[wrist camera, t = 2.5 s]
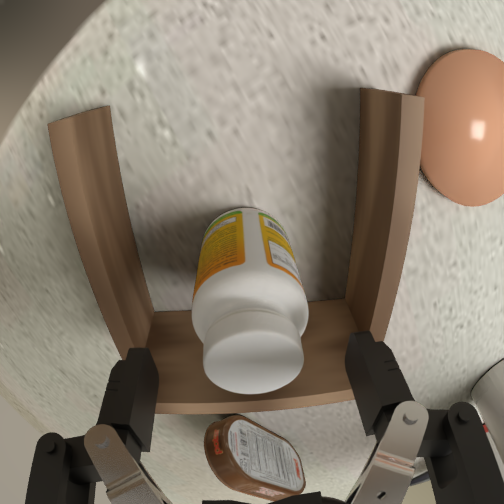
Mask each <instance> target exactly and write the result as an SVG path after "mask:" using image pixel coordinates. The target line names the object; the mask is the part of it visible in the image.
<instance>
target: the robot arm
mask: <svg viewBox="0 0 504 504" xmlns="http://www.w3.org/2000/svg"><path fill="white" fill-rule="evenodd" d="M345 369H346V373H347V376H348V379H349V382H350V385H351V388H352V391H353V394H354V397H355V400H356V404H357V407H358V410H359V413H360V416H361V420H362V423H363V426H364V430H365V433H366V436H369V435H373V434H375V436H376V439H377V441H376V443H375V445H374V448H373V450H372V452H371V454H370V456H369V458H368V460H367V462H366V464H365V466H364V468H363V470H362V472H361V474H360V476H359V478H358V480H357V481H356V483H355V485H354V486H353V488H352V490H351V491H350V493H349V495H348V496H347V498H346V500H345V502H344V501H341V500H339V499H335V498H331V497H322V496H321V492H320V491H319V492H313V493H307V494H300V495H293V496H289V497H286V498H283V499H281V500H278V501H275V502H271V503H268V504H401V503H402V501H403V499H404V497H405V494H406V492H407V490H408V487H409V485H410V482H411V480H412V477H413V475H414V471H415V467H414V462H415V459H416V457H424V459H425V462H426V466H427V469H428V473H429V477H430V480H431V484H432V488H433V492H434V496H435V500H436V504H504V481H503V478H502V475H501V472H500V469H499V466H498V463H497V460H496V458H495V455H494V452H493V450H492V447H491V444H490V442H489V439H488V437H487V434H486V432H485V429H484V427H483V424H482V422H481V420H480V417H479V415H478V413H477V411H476V409H475V408H474V407H473V406H472V405H471V404H469V403H466V402H458V403H455V404H454V405H452V406H451V408H450V409H449V410H430V409H426V408H425V407H424V406H423V405H422V404H420V403H418V402H416V401H415V400H414V398H413V397H412V394H411V392H410V390H409V387H408V385H407V383H406V381H405V379H404V376H403V374H402V372H401V370H400V369H399V365H398V363H397V361H396V359H395V357H394V355H393V353H392V350H391V349H390V348H389V347H388V346H387V345H386V344H385V343H384V342H383V341H378V342H375V340H374V338H373V336H372V334H371V332H370V331H369V330H366V331H360V332H353V333H351V334H350V336H349V341H348V346H347V350H346V354H345ZM108 381H109V383H108V384H107V387H106V391H105V395H104V398H103V402H102V406H101V410H100V414H99V418H98V421H97V424H96V426H93V427H92V428H90V429H89V430H88V431H87V433H86V434H85V435H83V436H79V437H73V438H67V439H63V438H62V437H61V436H60V435H59V434H57V433H47V434H45V435H43V436H42V437H41V438H40V439H39V440H38V442H37V445H36V450H35V454H34V458H33V463H32V467H31V472H30V477H29V482H28V488H27V494H26V500H25V504H94V498H95V488H96V487H95V486H96V482H99V481H103V482H104V484H105V486H106V488H107V491H106V493H107V496H108V498H109V500H110V502H111V503H112V504H172V502H171V501H170V500H169V499H168V498H167V497H166V496H165V494H164V493H163V492H162V490H161V489H160V488H159V486H158V485H157V484H156V482H155V481H154V480H153V478H152V477H151V475H150V474H149V472H148V471H147V470H146V468H145V467H144V465H143V464H142V462H141V461H140V457H141V452H150V446H151V438H152V430H153V423H154V415H155V408H156V402H157V395H158V388H159V373H158V370H157V367H156V365H155V362H154V360H153V357H152V355H151V352H150V350H149V348H147V347H146V348H129V350H128V353H127V357H126V360H119V361H118V362H117V363H116V365H115V366H114V367H113V368H112V370H111V373H110V377H109V380H108ZM471 397H472V399H473V401H474V403H475V405H476V407H477V408H478V410H479V412H480V414H481V417H482V419H483V421H484V423H485V425H486V427H487V429H488V431H489V433H490V435H491V438H492V440H493V442H494V444H495V446H496V448H497V451H498V453H499V455H500V458H501V460H502V462H503V465H504V360H502V361H501V362H499V363H498V364H497V365H495V366H494V367H493V368H492V369H490V370H489V371H488V372H487V373H486V374H485V375H484V376H483V377H482V378H481V379H480V380H479V381H478V382H477V384H476V385H475V386H474V388H473V390H472V392H471ZM202 504H249V503H243V502H238V501H232V500H217V501H209V500H202Z"/></svg>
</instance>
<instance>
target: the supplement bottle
mask: <svg viewBox="0 0 504 504" xmlns="http://www.w3.org/2000/svg"><path fill="white" fill-rule="evenodd" d="M192 322H193V326H194V329H195V332H196V334H197V335H198V337H199V339H200V340H201V341H202V343H203V344H204V346H203V367H204V371H205V373H206V375H207V377H208V378H209V379H210V380H211V381H212V382H213V383H214V384H216V385H217V386H219V387H221V388H223V389H225V390H228V391H231V392H235V393H241V394H260V393H266V392H270V391H273V390H276V389H279V388H281V387H283V386H285V385H287V384H288V383H290V382H291V381H292V380H294V379H295V378H296V377H297V376H298V374H299V373H300V371H301V369H302V367H303V363H304V355H303V349H302V343H301V336H302V334H303V333H304V331H305V328H306V326H307V322H308V304H307V299H306V295H305V292H304V289H303V286H302V282H301V279H300V276H299V272H298V269H297V266H296V262H295V259H294V256H293V253H292V249H291V246H290V243H289V240H288V237H287V235H286V232H285V230H284V228H283V227H282V225H281V224H280V223H279V222H278V221H277V220H276V219H275V218H274V217H273V216H271V215H270V214H268V213H266V212H264V211H262V210H258V209H254V208H239V209H234V210H231V211H228V212H226V213H224V214H222V215H220V216H219V217H217V218H216V219H215V220H214V221H213V222H212V223H211V224H210V225H209V227H208V228H207V230H206V232H205V234H204V237H203V241H202V245H201V250H200V257H199V263H198V269H197V276H196V282H195V287H194V294H193V301H192Z"/></svg>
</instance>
